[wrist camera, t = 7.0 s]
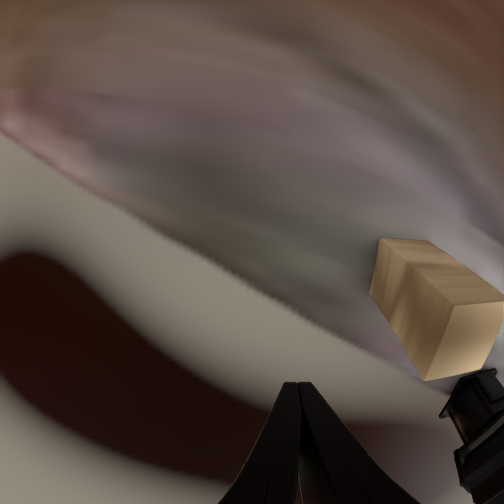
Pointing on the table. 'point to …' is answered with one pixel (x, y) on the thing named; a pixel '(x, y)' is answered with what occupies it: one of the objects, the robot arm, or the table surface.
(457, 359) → the oak block
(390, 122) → the table surface
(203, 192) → the table surface
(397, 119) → the table surface
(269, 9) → the table surface
